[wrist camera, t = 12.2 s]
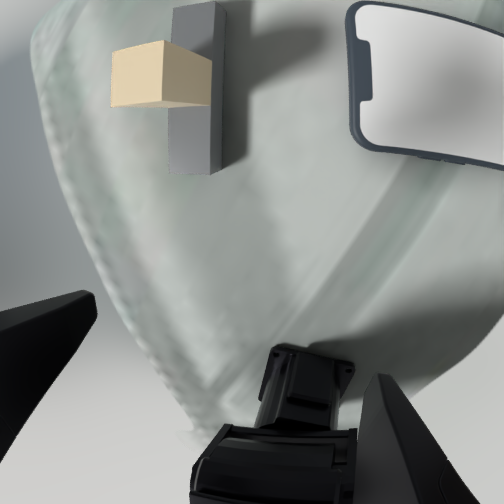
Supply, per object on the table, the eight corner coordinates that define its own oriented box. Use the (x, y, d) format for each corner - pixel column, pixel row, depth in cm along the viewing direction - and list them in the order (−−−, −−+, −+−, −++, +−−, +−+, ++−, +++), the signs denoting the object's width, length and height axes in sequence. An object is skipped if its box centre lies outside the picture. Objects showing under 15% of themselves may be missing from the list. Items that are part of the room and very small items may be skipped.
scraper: (222, 169, 18) (163, 196, 12) (184, 167, 18) (114, 194, 12) (227, 12, 14) (171, -36, 7) (188, 17, 14) (121, -20, 8)
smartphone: (554, 64, 9) (342, 5, 12) (566, 63, 7) (343, -5, 11) (554, 184, 12) (348, 149, 16) (567, 190, 11) (350, 152, 14)
